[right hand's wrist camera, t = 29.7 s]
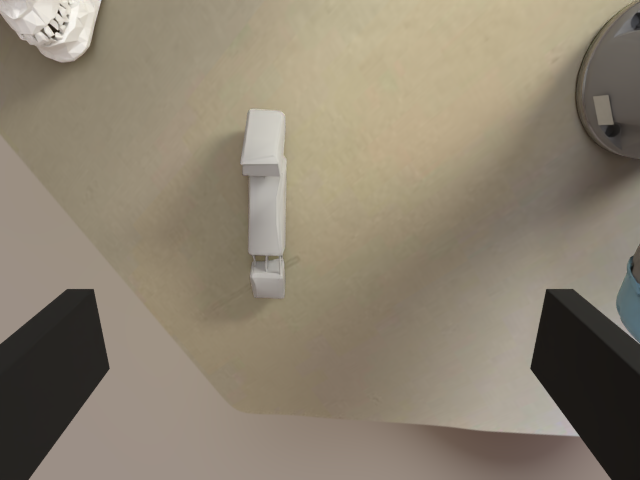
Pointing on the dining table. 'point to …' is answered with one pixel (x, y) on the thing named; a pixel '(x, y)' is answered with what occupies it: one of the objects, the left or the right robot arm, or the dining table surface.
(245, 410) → the dining table surface
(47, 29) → the skull
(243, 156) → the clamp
